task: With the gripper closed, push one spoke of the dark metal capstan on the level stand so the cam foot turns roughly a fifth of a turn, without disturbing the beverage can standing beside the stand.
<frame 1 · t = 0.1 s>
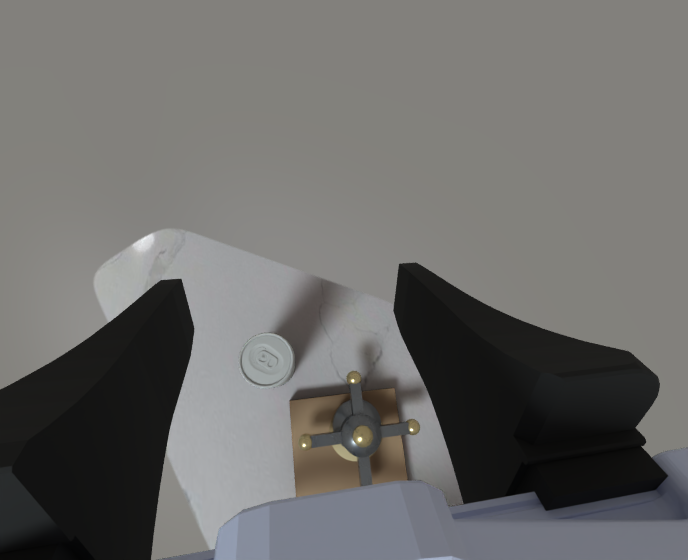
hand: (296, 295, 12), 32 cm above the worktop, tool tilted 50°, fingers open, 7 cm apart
level stand: (349, 469, 40), on the worktop
capstan: (359, 433, 38), point 4 cm above the worktop, hinge at 0.0°
beverage can: (274, 366, 42), on the worktop
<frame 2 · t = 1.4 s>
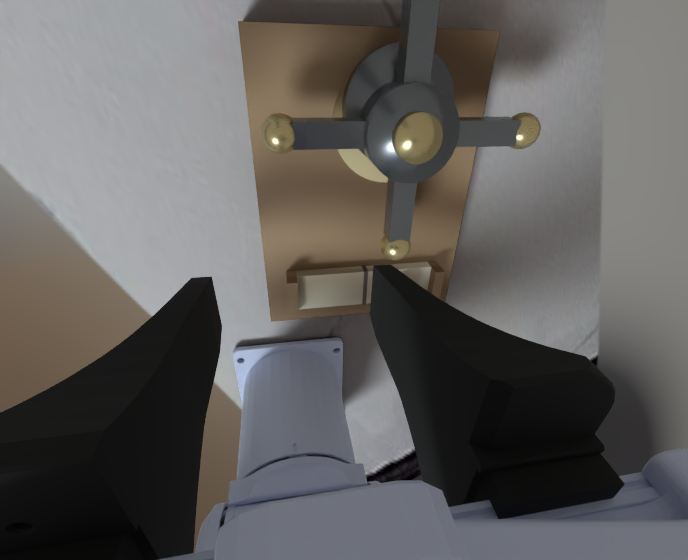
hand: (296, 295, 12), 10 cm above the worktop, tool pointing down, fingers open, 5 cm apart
level stand: (361, 191, 22), on the worktop
capstan: (405, 131, 16), point 4 cm above the worktop, hinge at 0.0°
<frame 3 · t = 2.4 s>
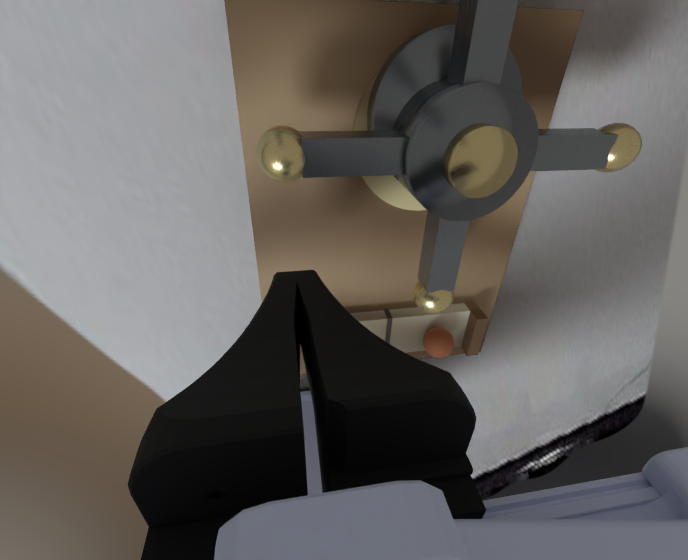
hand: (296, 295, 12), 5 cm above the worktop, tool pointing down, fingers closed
level stand: (385, 218, 17), on the worktop
capstan: (455, 148, 12), point 4 cm above the worktop, hinge at 0.0°
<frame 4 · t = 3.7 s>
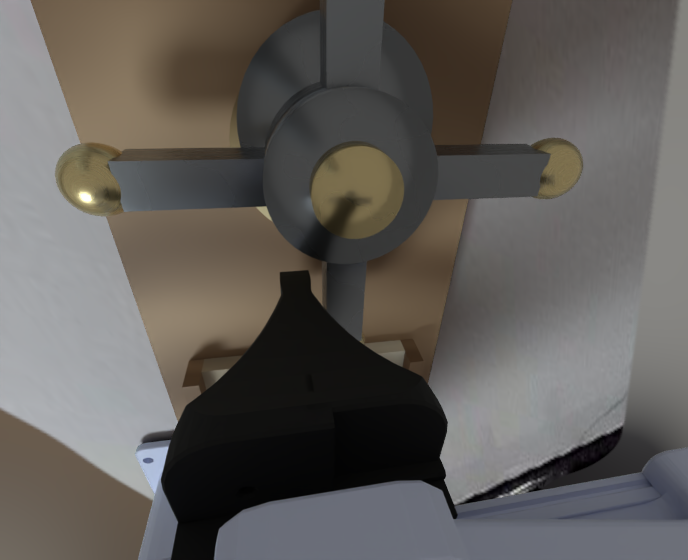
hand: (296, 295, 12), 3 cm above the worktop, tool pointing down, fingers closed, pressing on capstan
level stand: (300, 243, 14), on the worktop
capstan: (343, 170, 9), point 4 cm above the worktop, hinge at 0.1°, touching gripper
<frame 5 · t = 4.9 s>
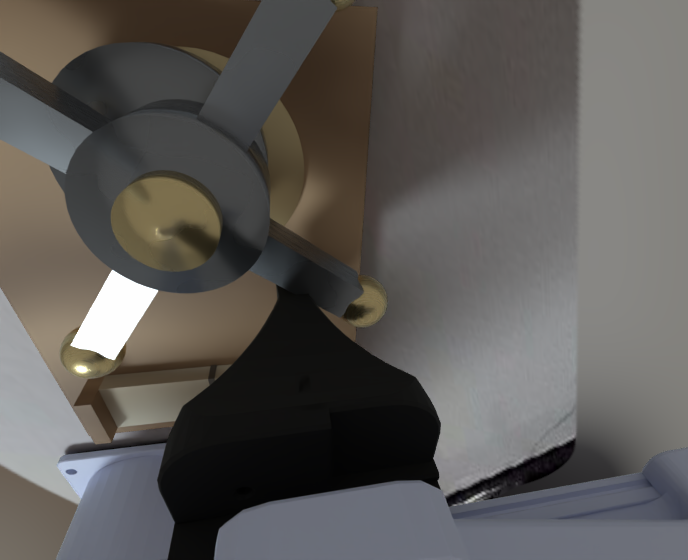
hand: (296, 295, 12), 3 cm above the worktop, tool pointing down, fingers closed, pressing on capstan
level stand: (200, 259, 14), on the worktop
capstan: (186, 195, 9), point 4 cm above the worktop, hinge at 53.2°, touching gripper
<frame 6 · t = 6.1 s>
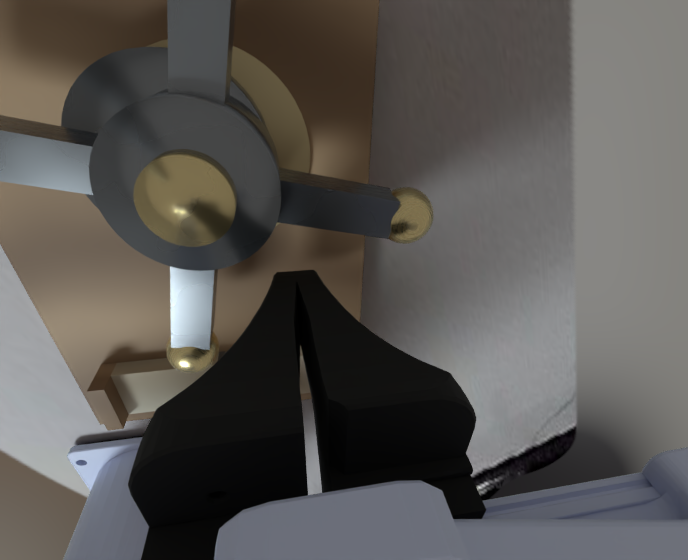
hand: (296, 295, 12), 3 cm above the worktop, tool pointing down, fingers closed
level stand: (209, 247, 14), on the worktop
capstan: (200, 177, 9), point 4 cm above the worktop, hinge at 77.8°
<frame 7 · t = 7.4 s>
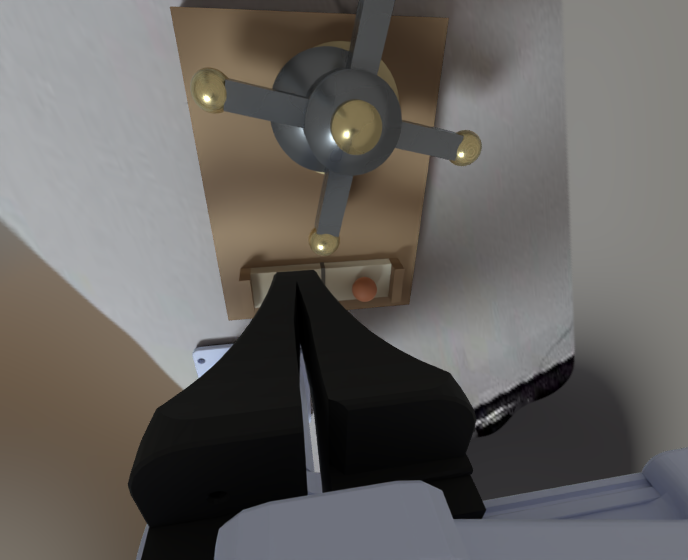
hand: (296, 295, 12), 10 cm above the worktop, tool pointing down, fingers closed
level stand: (317, 185, 21), on the worktop
capstan: (348, 121, 16), point 4 cm above the worktop, hinge at 78.0°
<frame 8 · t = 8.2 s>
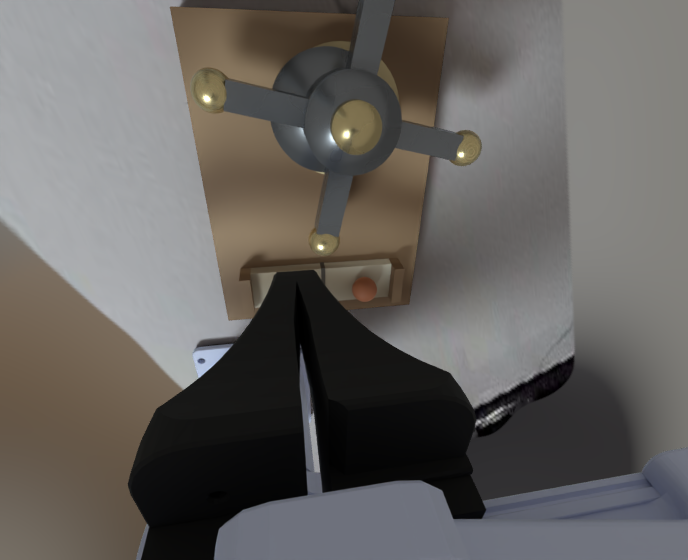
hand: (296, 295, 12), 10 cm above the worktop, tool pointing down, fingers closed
level stand: (317, 185, 21), on the worktop
capstan: (348, 121, 16), point 4 cm above the worktop, hinge at 78.0°
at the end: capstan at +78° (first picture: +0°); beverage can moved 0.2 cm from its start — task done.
